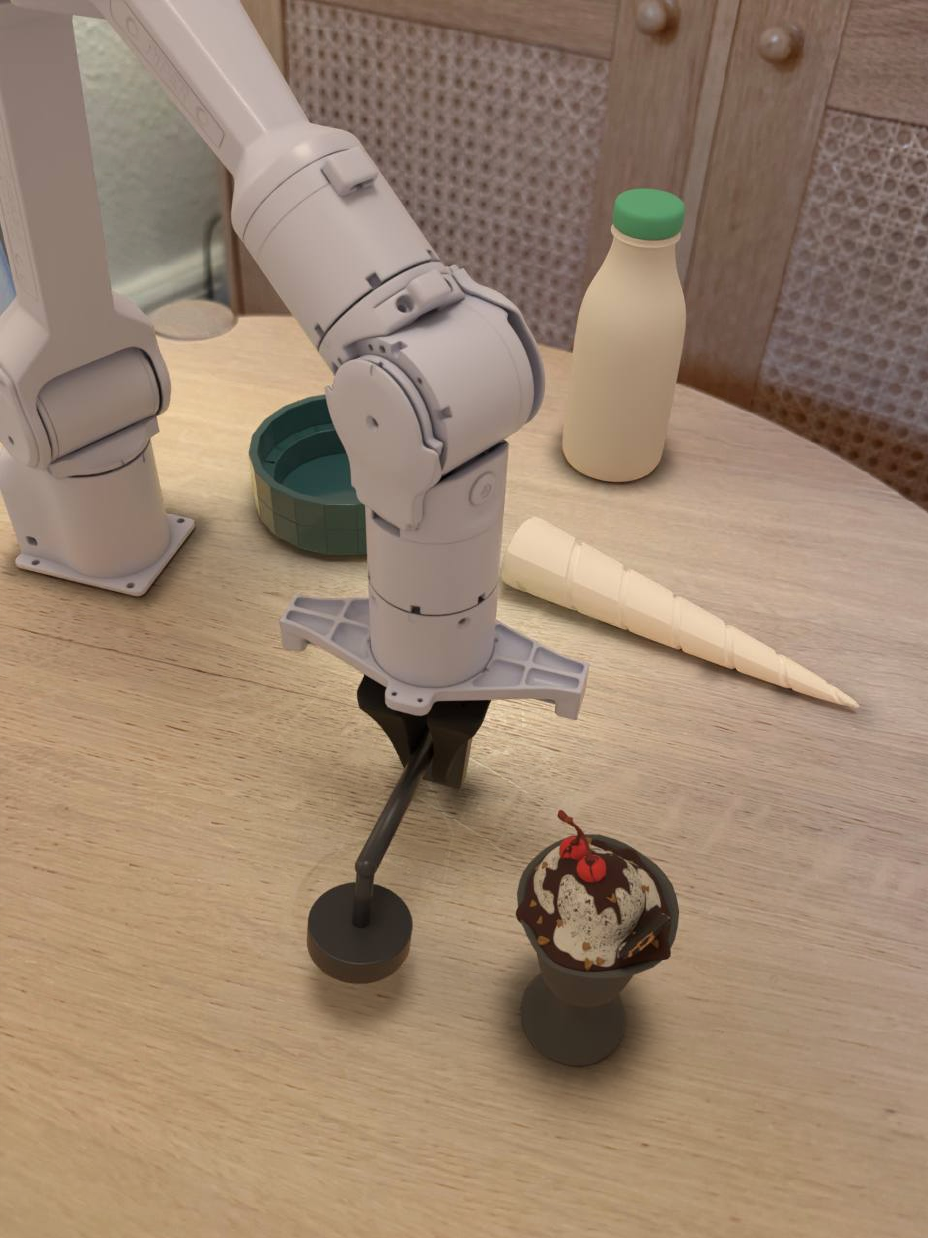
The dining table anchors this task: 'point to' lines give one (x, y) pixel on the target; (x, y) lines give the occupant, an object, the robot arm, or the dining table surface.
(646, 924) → the sundae
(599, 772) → the dining table surface
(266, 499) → the bowl
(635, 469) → the milk bottle
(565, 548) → the unicorn horn
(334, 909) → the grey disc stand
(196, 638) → the dining table surface
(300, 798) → the dining table surface
